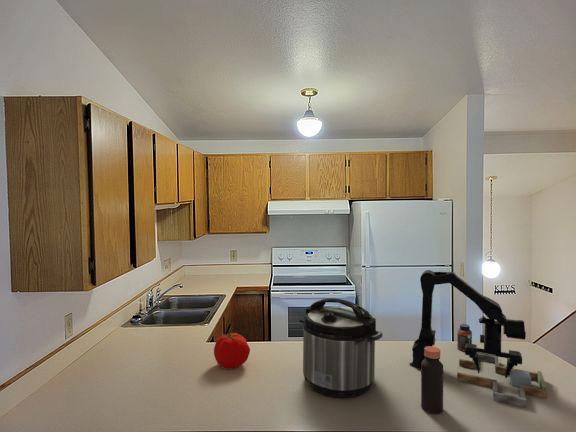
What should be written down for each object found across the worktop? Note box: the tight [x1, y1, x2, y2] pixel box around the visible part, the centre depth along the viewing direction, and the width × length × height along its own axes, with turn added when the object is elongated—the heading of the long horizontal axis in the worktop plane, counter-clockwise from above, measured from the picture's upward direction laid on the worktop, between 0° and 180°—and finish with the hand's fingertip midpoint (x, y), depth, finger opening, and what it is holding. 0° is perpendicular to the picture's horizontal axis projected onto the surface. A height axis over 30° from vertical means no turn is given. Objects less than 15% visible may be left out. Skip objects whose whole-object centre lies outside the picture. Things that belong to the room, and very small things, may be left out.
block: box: [509, 369, 532, 388], centre depth 132 cm, size 6×5×4 cm
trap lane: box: [456, 353, 548, 409], centre depth 135 cm, size 28×34×4 cm
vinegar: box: [420, 345, 444, 415], centre depth 117 cm, size 7×7×20 cm
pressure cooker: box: [299, 297, 383, 398], centre depth 136 cm, size 30×28×32 cm
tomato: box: [213, 332, 251, 370], centre depth 150 cm, size 16×14×14 cm
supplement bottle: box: [456, 323, 473, 352], centre depth 163 cm, size 6×6×11 cm
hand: (492, 375), depth 137 cm, fingers open, 9 cm apart
